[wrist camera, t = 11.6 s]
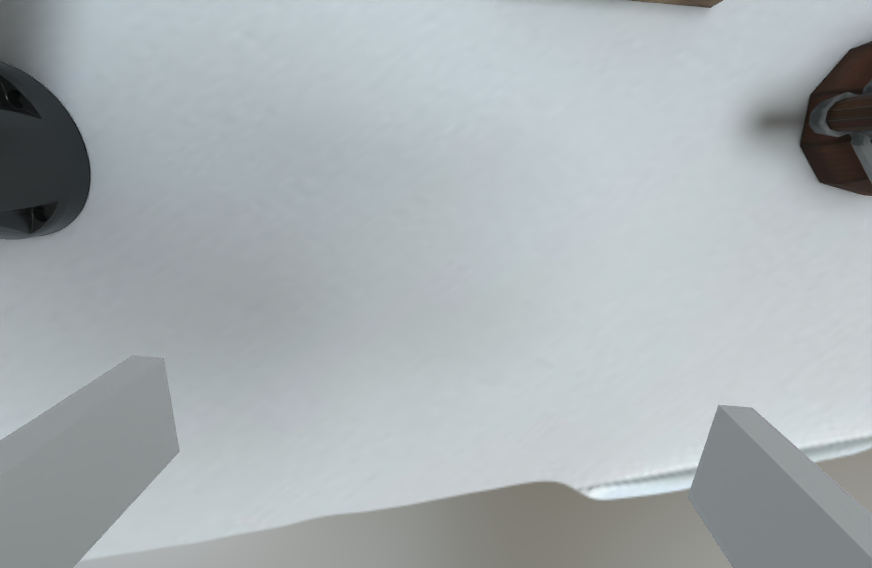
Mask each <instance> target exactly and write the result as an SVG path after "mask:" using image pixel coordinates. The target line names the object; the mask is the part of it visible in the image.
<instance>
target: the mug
mask: <svg viewBox="0 0 872 568" xmlns="http://www.w3.org/2000/svg"><path fill="white" fill-rule="evenodd" d="M801 147H802V149H803V150H804V152H805V154H806V156H807V158H808V160H809V161H810V163H811V165H812V167H813V169H814V171H815V172H816V174H817V176H818V178H819V180H820V181H821V183H824V184H827V185H831V186H834V187H838V188H841V189H845V190H848V191H852V192H855V193H859V194H862V195H868V196H872V41H871V42H869V43H866V44H863V45H861V46H858V47H855V48H853V49H851V50H850V51H849V52H848V54H847V55H846V56H845V57H844V58H843V59H842V60H841V62H840V63H839V64H838V65H837V66H836V67H835V68H834V69H833V71H832V72H831V73H830V74H829V75H828V76H827V77H826V79H825V80H824V81H823V82H822V83H821V84H820V85H819V87H818V88H817V89H816V90H815V91H814V92H813V93H812V95H811V98H810V103H809V108H808V113H807V118H806V123H805V127H804V132H803V137H802V142H801Z"/></svg>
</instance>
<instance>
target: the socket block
mask: <svg viewBox="0 0 872 568" xmlns="http://www.w3.org/2000/svg"><path fill="white" fill-rule="evenodd" d="M634 1H645V2H656V3H667V4H678V5H689V6H700V7H712V6H714V5H716V4H718V3H719V2H721V1H723V0H634Z"/></svg>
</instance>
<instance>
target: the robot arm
mask: <svg viewBox="0 0 872 568" xmlns="http://www.w3.org/2000/svg"><path fill="white" fill-rule="evenodd" d="M88 188H89V165H88V159H87V154H86V151H85V147H84V144H83V141H82V139H81V136H80V134H79V132H78V130H77V128H76V126H75V124H74V122H73V121H72V119H71V117H70V116H69V114H68V113H67V111H66V110H65V109H64V107H63V106H62V105H61V104H60V102H59V101H58V100H57V99H56V98H55V97H54V96H53V95H52V94H51V93H50V92H49V91H48V90H47V89H46V88H45V87H44V86H43V85H41V84H40V83H39V82H38V81H36V80H35V79H33V78H32V77H31V76H29V75H27V74H26V73H24V72H22V71H20V70H19V69H16V68H14V67H12V66H9V65H7V64H4V63H1V62H0V239H6V240H14V239H25V238H31V237H35V236H40V235H45V234H49V233H53V232H56V231H58V230H60V229H62V228H64V227H65V226H67V225H68V224H69V223H71V222H72V221H73V220H74V219H75V218H76V216H77V215H78V214H79V212H80V211H81V209H82V207H83V205H84V203H85V200H86V197H87V193H88ZM179 452H180V451H179V445H178V440H177V434H176V428H175V422H174V416H173V410H172V404H171V398H170V392H169V386H168V381H167V375H166V369H165V363H164V358H154V357H142V356H132V357H130V358H128V359H127V360H125V361H124V362H122V363H121V364H119V365H118V366H116V367H114V368H113V369H111V370H110V371H108V372H107V373H105V374H103V375H102V376H100V377H99V378H97V379H96V380H94V381H93V382H91V383H89V384H88V385H86V386H85V387H83V388H82V389H80V390H79V391H77V392H75V393H74V394H72V395H71V396H69V397H68V398H66V399H64V400H63V401H61V402H60V403H58V404H57V405H55V406H54V407H52V408H50V409H49V410H47V411H46V412H44V413H43V414H41V415H40V416H38V417H36V418H35V419H33V420H32V421H30V422H29V423H27V424H25V425H24V426H22V427H21V428H19V429H18V430H16V431H15V432H13V433H11V434H10V435H8V436H7V437H5V438H4V439H2V440H1V441H0V568H73V567H74V566H75V565H76V564H77V563H78V562H79V561H80V560H81V558H82V557H83V556H84V555H85V554H86V553H87V552H88V551H89V550H90V549H91V548H92V546H93V545H94V544H95V543H96V542H97V541H98V540H99V539H100V538H101V537H102V536H103V534H104V533H105V532H106V531H107V530H108V529H109V528H110V527H111V526H112V525H113V524H114V522H115V521H116V520H117V519H118V518H119V517H120V516H121V515H122V514H123V513H124V512H125V510H126V509H127V508H128V507H129V506H130V505H131V504H132V503H133V502H134V501H135V500H136V498H137V497H138V496H139V495H140V494H141V493H142V492H143V491H144V490H145V489H146V488H147V486H148V485H149V484H150V483H151V482H152V481H153V480H154V479H155V478H156V477H157V476H158V474H159V473H160V472H161V471H162V470H163V469H164V468H165V467H166V466H167V465H168V464H169V462H170V461H171V460H172V459H173V458H174V457H175V456H176V455H177V454H178V453H179ZM688 499H689V501H690V502H691V504H692V505H693V507H694V509H695V510H696V511H697V513H698V515H699V516H700V518H701V519H702V521H703V522H704V524H705V525H706V527H707V528H708V530H709V532H710V533H711V534H712V536H713V538H714V539H715V541H716V542H717V544H718V546H719V547H720V548H721V550H722V552H723V553H724V554H725V556H726V558H727V559H728V561H729V562H730V564H731V566H732V567H733V568H872V514H871V513H870V512H868V511H867V510H866V509H865V508H864V507H863V506H862V505H861V504H860V503H858V502H857V501H856V500H855V499H854V498H853V497H852V496H851V495H850V494H848V493H847V492H846V491H845V490H844V489H843V488H842V487H841V486H839V485H838V484H837V483H836V482H835V481H834V480H833V479H831V478H830V477H829V476H828V475H827V474H826V473H825V472H824V471H823V470H821V469H820V468H819V467H818V466H817V465H816V464H815V463H814V462H813V461H811V460H810V459H809V458H808V457H807V456H806V455H805V454H804V453H802V452H801V451H800V450H799V449H798V448H797V447H796V446H795V445H793V444H792V443H791V442H790V441H789V440H788V439H787V438H786V437H784V436H783V435H782V434H781V433H780V432H779V431H778V430H777V429H776V428H774V427H773V426H772V425H771V424H770V423H769V422H768V421H767V420H765V419H764V418H763V417H762V416H761V415H760V414H759V413H758V412H756V411H755V410H754V409H753V408H749V407H737V406H725V405H718V408H717V411H716V414H715V417H714V420H713V423H712V426H711V429H710V432H709V435H708V438H707V441H706V444H705V447H704V450H703V453H702V456H701V459H700V462H699V465H698V468H697V471H696V474H695V477H694V480H693V483H692V486H691V489H690V492H689V495H688Z"/></svg>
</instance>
